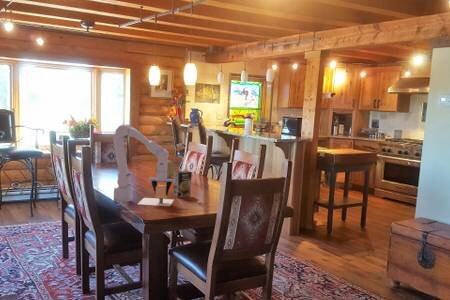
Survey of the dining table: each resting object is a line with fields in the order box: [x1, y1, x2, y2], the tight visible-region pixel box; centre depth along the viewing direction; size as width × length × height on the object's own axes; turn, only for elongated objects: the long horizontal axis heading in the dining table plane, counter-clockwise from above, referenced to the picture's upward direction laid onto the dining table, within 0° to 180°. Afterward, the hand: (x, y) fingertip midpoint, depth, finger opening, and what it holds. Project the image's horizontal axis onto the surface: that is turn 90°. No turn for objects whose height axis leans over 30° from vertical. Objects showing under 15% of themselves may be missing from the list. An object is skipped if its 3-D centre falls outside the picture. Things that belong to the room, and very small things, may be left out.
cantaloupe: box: [155, 159, 176, 179], centre depth 328 cm, size 15×15×15 cm
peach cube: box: [154, 184, 168, 199], centre depth 241 cm, size 6×6×6 cm
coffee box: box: [172, 170, 192, 198], centre depth 263 cm, size 9×6×16 cm
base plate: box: [137, 197, 175, 207], centre depth 243 cm, size 18×17×1 cm
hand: (161, 194), depth 241 cm, fingers closed on peach cube, 6 cm apart
